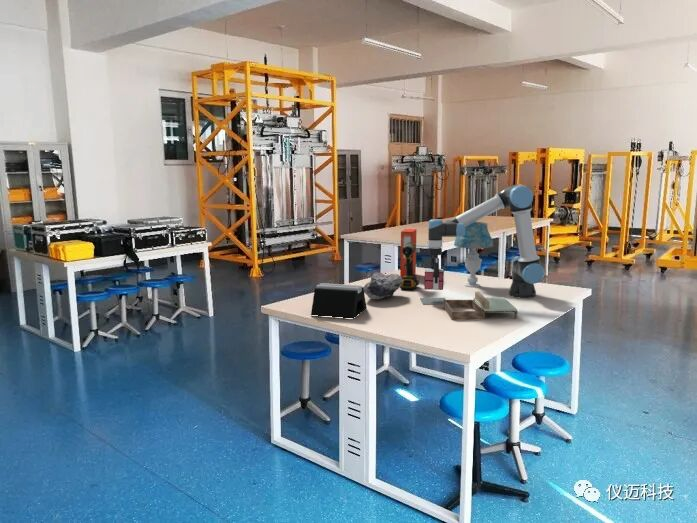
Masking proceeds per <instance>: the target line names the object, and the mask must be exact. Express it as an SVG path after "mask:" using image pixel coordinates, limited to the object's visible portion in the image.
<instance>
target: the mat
mask: <svg viewBox="0 0 697 523" xmlns="http://www.w3.org/2000/svg"><path fill="white" fill-rule="evenodd" d="M444 300H447V299H446V297H420V302H421V304H422V305H423V306H425V305H426V306H430V305H431V306H432V305H433V306H434V305H435V306H436V305H437V306H438V305H440V306H441V305H443V303H444Z"/></svg>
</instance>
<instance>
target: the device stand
mask: <svg viewBox="0 0 697 523" xmlns="http://www.w3.org/2000/svg"><path fill="white" fill-rule="evenodd" d="M363 287H364V286H362V285H360V284H359V285H356V284H343V283H342V284H341V283H340V284H339V283H326V282H325V283H324V282H323V283H322V282H320V283H319V284H317V285H316V287H315V288H314V291H313V298H312V305H311V312H310V316H311V315H318V316H332V317H343V318H354V317H356V316H357V315H358V314H360V313H361V312H362V313H364V312H365V311H366V310H367V303H366V297H365V295H366V294H365V293H364V289H363ZM365 309H366V310H365ZM364 310H365V311H364ZM363 311H364V312H363ZM362 313H361V314H362ZM361 314H360V315H361ZM357 317H358V316H357ZM357 317H356V318H357Z"/></svg>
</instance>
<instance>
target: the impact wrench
mask: <svg viewBox="0 0 697 523" xmlns="http://www.w3.org/2000/svg"><path fill="white" fill-rule="evenodd" d="M415 251H416V252H417V244H416V245H415V244H414V243H412V242H409V243H407V244H406V245H405V246H404V247H403V248H402V252H403V254H404V255H405V257H406V274H405V275H404V276H403V278H402V283H401V286H400V287H399V289H401V290H407V291H408V290H411V291H412V290H415V289H416V288H417V287H418V286H419V285H420V280H419V279H417V275H416V274H415V275H414V274H413V253H414V252H415Z"/></svg>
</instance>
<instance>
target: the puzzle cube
mask: <svg viewBox="0 0 697 523" xmlns="http://www.w3.org/2000/svg"><path fill="white" fill-rule="evenodd" d="M444 274H445V269H444V268H439V282H438V289H433V276H434V270H433V269H430V268H425V271H424V290H431V291H435V290H436V291H443V290H444V283H445V282H444V276H445V275H444Z"/></svg>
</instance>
